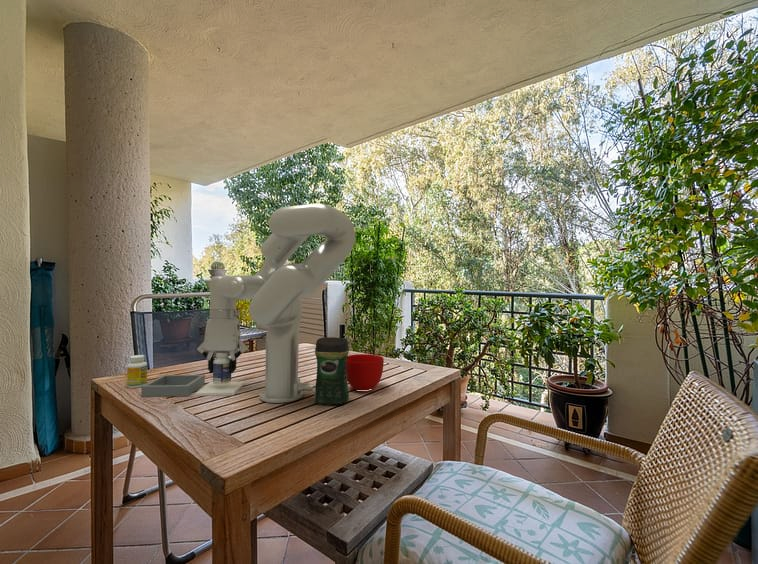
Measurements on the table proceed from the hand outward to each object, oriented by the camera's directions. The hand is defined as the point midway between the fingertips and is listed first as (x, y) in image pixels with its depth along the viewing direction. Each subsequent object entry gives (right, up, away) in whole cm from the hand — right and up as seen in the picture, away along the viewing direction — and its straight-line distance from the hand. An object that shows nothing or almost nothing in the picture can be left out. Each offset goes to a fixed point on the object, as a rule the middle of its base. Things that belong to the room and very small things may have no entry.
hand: (222, 371), depth 113 cm
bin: (-14, -5, -1) cm, 15 cm away
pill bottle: (0, -4, 0) cm, 4 cm away
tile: (0, -6, 0) cm, 6 cm away
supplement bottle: (-29, -5, +2) cm, 29 cm away
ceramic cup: (+44, -7, +5) cm, 45 cm away
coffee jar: (+36, -6, -10) cm, 38 cm away
